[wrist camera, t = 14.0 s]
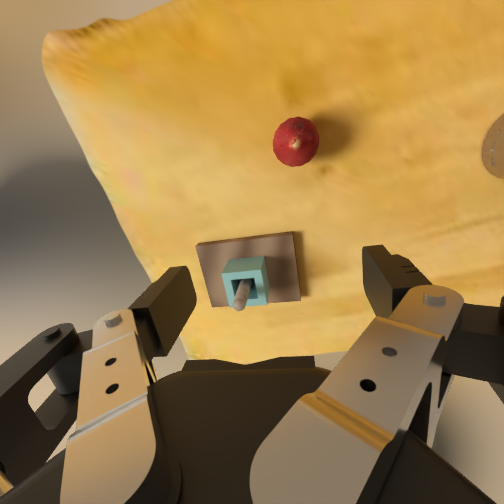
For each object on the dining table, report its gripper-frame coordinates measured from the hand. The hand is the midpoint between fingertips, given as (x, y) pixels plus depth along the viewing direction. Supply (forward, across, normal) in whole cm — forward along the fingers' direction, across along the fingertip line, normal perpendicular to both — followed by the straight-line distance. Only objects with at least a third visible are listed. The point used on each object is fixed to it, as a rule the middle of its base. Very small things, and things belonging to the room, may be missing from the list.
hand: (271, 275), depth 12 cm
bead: (+29, +8, +14) cm, 33 cm away
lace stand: (+30, +8, +14) cm, 34 cm away
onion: (+30, -2, -5) cm, 31 cm away
